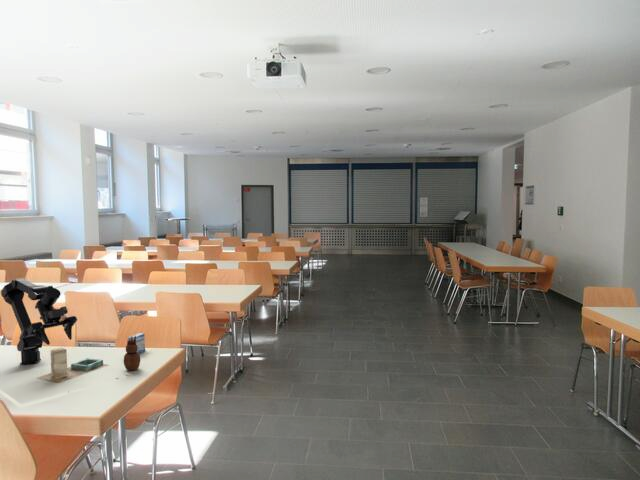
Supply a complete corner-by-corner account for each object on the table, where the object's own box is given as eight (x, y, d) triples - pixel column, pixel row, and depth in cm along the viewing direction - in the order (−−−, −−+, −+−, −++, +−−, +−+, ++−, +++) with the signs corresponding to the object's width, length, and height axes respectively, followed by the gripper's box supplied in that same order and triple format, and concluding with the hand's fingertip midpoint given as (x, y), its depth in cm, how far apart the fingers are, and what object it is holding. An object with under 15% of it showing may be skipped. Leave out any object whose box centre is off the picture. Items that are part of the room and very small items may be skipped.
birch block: (51, 376, 193) (50, 350, 192) (63, 373, 196) (62, 347, 196) (55, 378, 190) (54, 352, 189) (67, 375, 193) (66, 349, 193)
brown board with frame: (58, 385, 185) (58, 377, 185) (35, 380, 191) (35, 373, 191) (109, 367, 207) (109, 360, 206) (87, 363, 213) (87, 356, 213)
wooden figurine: (143, 368, 204) (142, 334, 204) (133, 372, 199) (131, 337, 198) (131, 366, 207) (130, 333, 206) (121, 370, 202) (120, 336, 201)
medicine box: (136, 355, 224) (135, 337, 224) (127, 354, 225) (127, 337, 224) (145, 350, 232) (144, 333, 231) (137, 350, 233) (136, 333, 232)
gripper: (30, 304, 193) (44, 337, 188) (75, 297, 208) (88, 327, 204) (21, 319, 198) (34, 350, 193) (65, 311, 214) (78, 340, 209)
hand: (60, 341), depth 200 cm, fingers open, 9 cm apart
